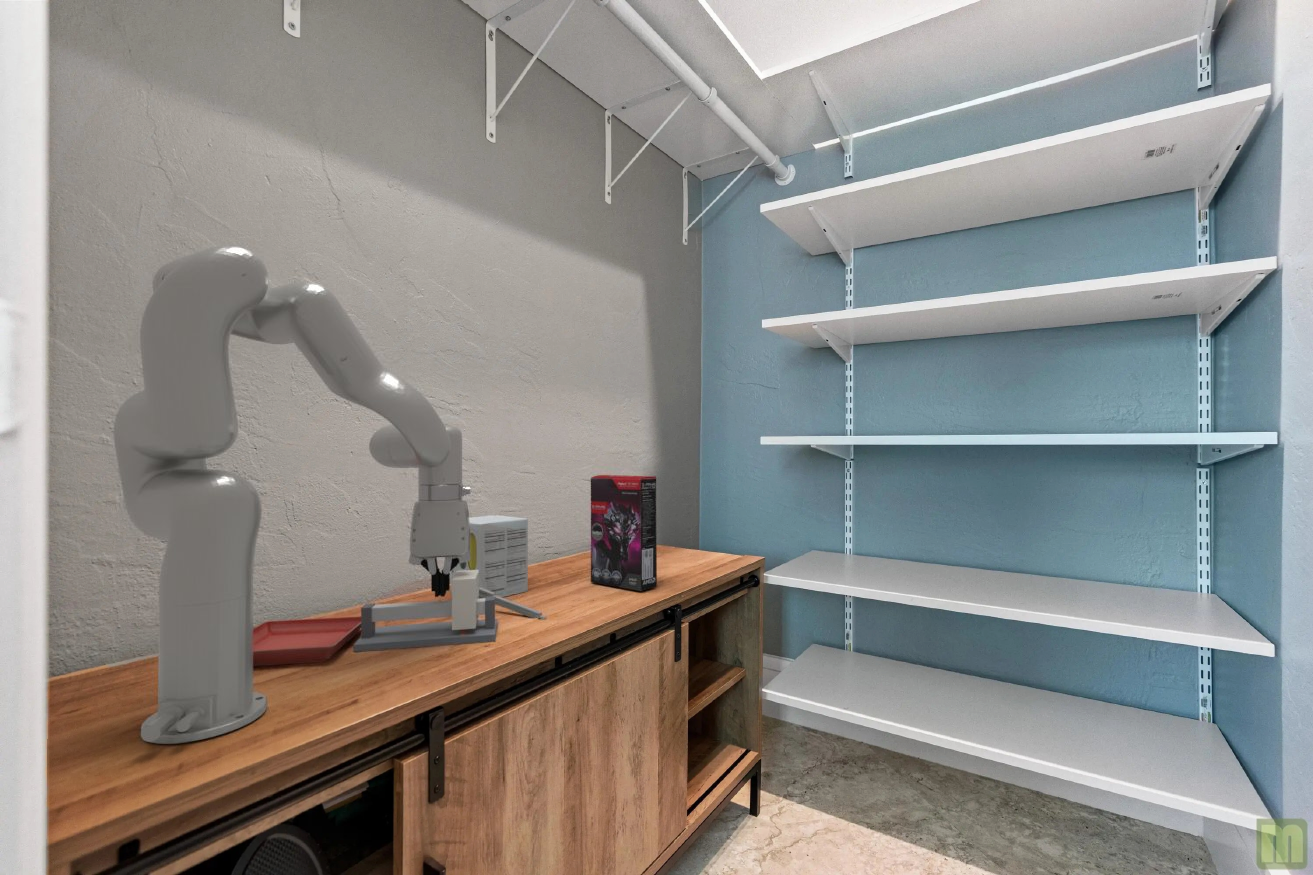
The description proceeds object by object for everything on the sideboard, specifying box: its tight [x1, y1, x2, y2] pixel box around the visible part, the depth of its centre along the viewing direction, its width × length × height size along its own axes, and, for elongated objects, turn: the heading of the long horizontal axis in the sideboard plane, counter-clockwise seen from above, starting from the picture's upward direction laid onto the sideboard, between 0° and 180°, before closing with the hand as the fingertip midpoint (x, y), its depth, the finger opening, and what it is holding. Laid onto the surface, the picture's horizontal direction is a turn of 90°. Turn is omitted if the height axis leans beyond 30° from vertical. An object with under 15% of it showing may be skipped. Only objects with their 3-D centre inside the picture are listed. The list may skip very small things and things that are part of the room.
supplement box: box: [450, 514, 529, 598], centre depth 140 cm, size 13×13×18 cm
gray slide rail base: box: [353, 596, 498, 653], centre depth 107 cm, size 10×23×6 cm, turn 103°
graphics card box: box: [590, 474, 658, 592], centre depth 146 cm, size 17×7×27 cm, turn 53°
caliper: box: [479, 587, 548, 620], centre depth 122 cm, size 20×1×6 cm, turn 65°
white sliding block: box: [451, 570, 480, 630], centre depth 108 cm, size 8×4×9 cm, turn 13°
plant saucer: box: [253, 615, 361, 667], centre depth 101 cm, size 18×18×3 cm
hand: (440, 594), depth 107 cm, fingers closed
